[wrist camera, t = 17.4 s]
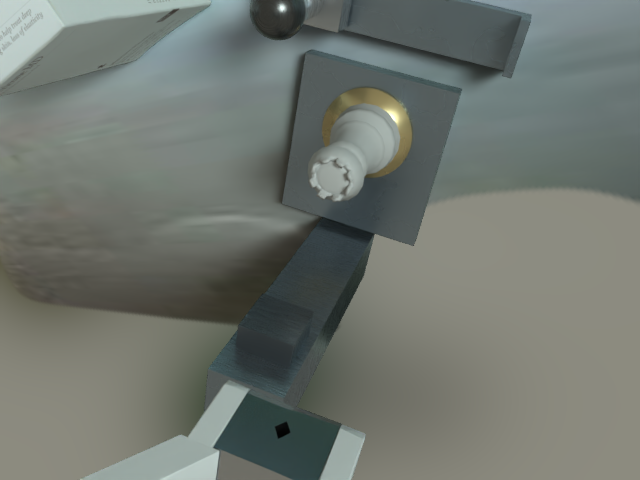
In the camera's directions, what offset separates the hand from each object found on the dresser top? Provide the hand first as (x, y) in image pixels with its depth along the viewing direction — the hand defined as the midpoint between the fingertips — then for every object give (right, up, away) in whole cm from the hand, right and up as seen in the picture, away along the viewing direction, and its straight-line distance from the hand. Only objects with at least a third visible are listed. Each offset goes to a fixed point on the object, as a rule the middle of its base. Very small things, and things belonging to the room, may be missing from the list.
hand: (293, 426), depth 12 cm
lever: (0, +18, +23) cm, 29 cm away
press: (+4, +10, +28) cm, 30 cm away
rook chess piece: (+4, +11, +26) cm, 28 cm away
